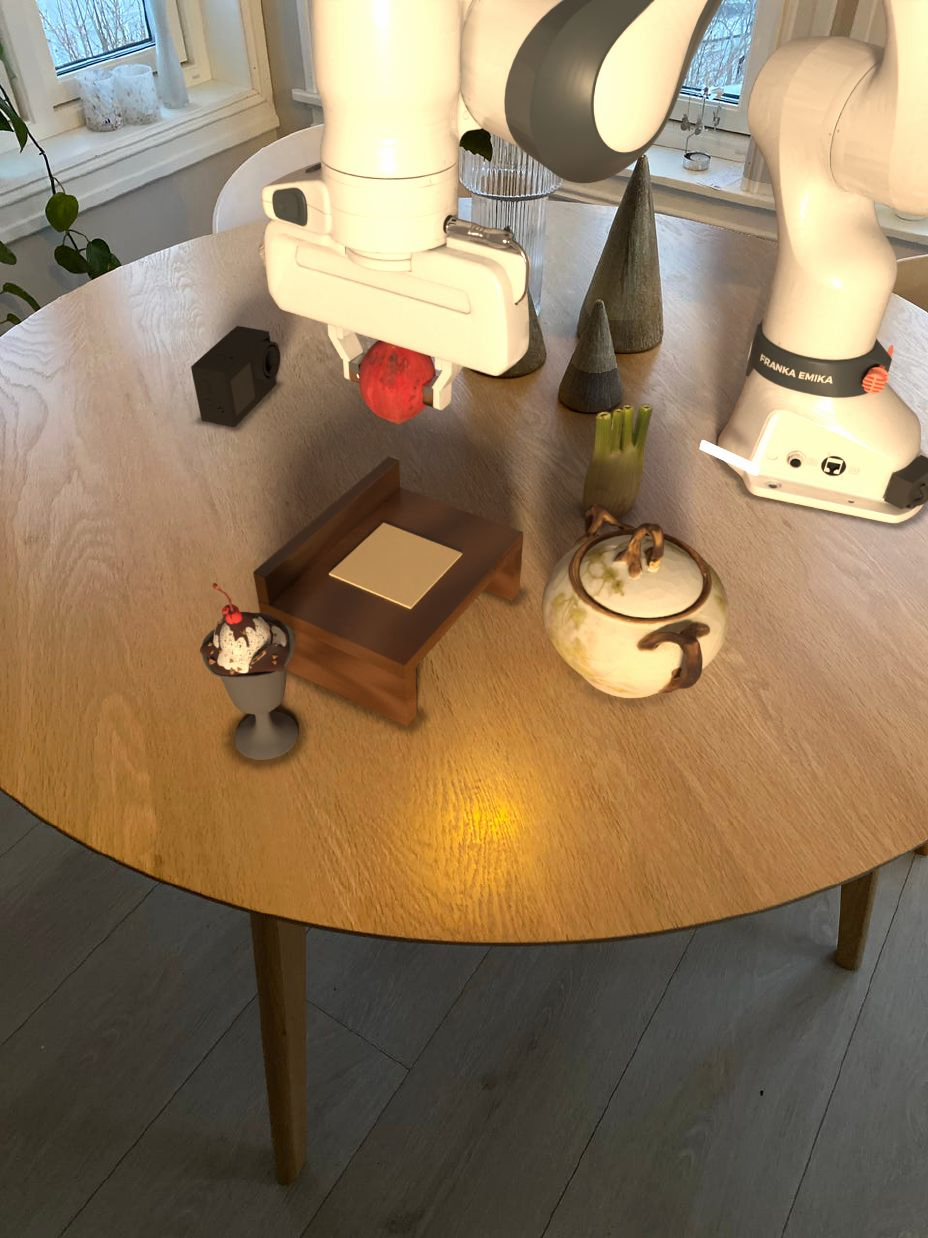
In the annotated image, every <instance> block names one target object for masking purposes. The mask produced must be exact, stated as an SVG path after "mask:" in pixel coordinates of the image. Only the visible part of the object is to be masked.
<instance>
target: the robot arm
mask: <svg viewBox="0 0 928 1238" xmlns="http://www.w3.org/2000/svg"><path fill="white" fill-rule="evenodd" d="M723 1H724V0H310V21H311V22H310V24H311V25H310V26H311V27H310V29H311V49H312V51H311V52H312V64H313V65H312V66H313V79H314V83H315V84H314V85H315V87H316V90H317V93H318V97H319V99H320V102H321V107H322V112H323V115H322V116H323V128H322V133H321V134H322V135H321V139H320V145H319V157H320V158H319V159H320V160H319V161H318V162H315V163H312V164H310V165H309V164H308V165H307V166H304V167H301V168H298V169H296V170H294V171H291V172H289V173H287V174H285V175H283V176H281V177H279V178H277V179H275V180H273V181H272V182H270V183H268V184H267V185H265V186H264V187H262V189H261V192H260V198H261V206H262V209H263V211H264V214H265V216H266V217H268V218H269V219H270V220H269V221H268V222H267V223H266V226H265V229H264V232H265V233H264V232H263V236H264V253H265V265H264V267H265V266H266V267H265V274H266V283H267V286H268V287H267V288H268V292H269V294H270V296H271V298H272V299H273V301H274V303H275V304H276V305H277V307H278V308H279V309H280V310H282V311H284V312H287V313H290V314H293V315H297V316H300V317H304V318H307V319H310V320H313V321H316V322H319V323H323V324H326V325H327V326H326V327H327V335H328V337H329V340H330V341H331V343H332V346H334V348H335V350H336V352H337V354H338V355H339V357H340V359H341V360H342V364H343V365H342V366H343V377H344V379H345V380H348V381H351V382H354V383H357V384H359V368H360V365H361V361H362V359H363V358H364V356H365V354H366V353H367V352H364V350H363V347H362V345H361V343H360V340H359V337H358V336H357V335H361V336H364V337H367V338H372V339H374V340H377V341H379V340H380V341H384V342H387V343H390V344H393V345H396V346H400V347H403V348H406V349H409V350H413V351H416V352H419V353H422V354H425V355H429V356H431V358H434V368H435V370H437V371H441V372H440V374H439V375H436V376H434V377H433V378H431V379H430V381H428V382H426V383H425V384H424V385H422V394H423V396H424V398H423V399H422V402H423V404H424V405H427V407H429V408H433V409H434V410H438V411H443V410H444V409H445V408H446V407H447V406H449V405H450V403H451V401H452V397H453V396H452V394H453V392H452V390H453V382H454V381H455V379H456V378H457V377H458V375H459V374H460V372H461V371H462V370H463V368H468V369H470V370H473V371H478V372H480V373H483V374H486V375H489V376H493V377H494V376H495V377H498V376H502V374H504V373H505V372H506V371H508V370H510V369H512V367H514V366H515V365H516V364H518V362H519V361H520V360H521V359H522V358H523V357H524V356H525V355H526V353H527V352H528V350H529V346H530V311H529V298H528V297H529V296H528V291H529V288H530V280H531V279H530V277H531V258H530V255H529V254H528V253H527V252H526V250H525V249H524V247H523V246H522V245H521V243H519V242H518V241H516V240H515V239H513V233H511V232H509V231H507V230H505V229H503V228H498V227H486V226H485V225H484V226H483V225H481V224H479V223H476V222H473V221H470V220H466V219H461V218H460V217H459V199H460V198H459V191H460V189H459V188H460V143H461V139H462V137H463V136H464V135H465V134H466V133H467V132H469V131H475V130H476V131H477V130H481V129H483V130H485V131H486V132H488V133H489V134H491V135H493V136H495V137H497V138H499V139H501V140H503V141H505V142H507V143H509V144H511V145H513V146H515V147H517V148H519V149H521V151H523V152H524V153H525V154H526V155H528V156H529V157H531V158H532V159H533V160H535V161H536V162H538V163H539V164H540V165H542V166H543V167H544V168H545V169H547V170H549V171H550V172H551V173H553V174H554V175H555V176H557V177H558V178H560V179H562V180H564V181H567V182H569V183H570V182H571V183H575V184H591V183H597V182H601V181H605V180H607V179H609V178H612V177H614V176H616V175H617V174H619V173H621V172H622V171H624V170H625V169H627V168H629V167H630V166H632V165H633V164H634V163H635V162H637V160H639V159H640V158H641V157H642V156H643V155H644V154H645V153H646V152H648V150H649V149H650V148H651V147H652V146H653V145H654V144H655V142H656V141H658V139H659V138H660V135H661V134H662V133H663V132H664V129H665V128H666V126H667V125H668V122H669V120H670V117H671V116H672V113H673V111H674V109H675V107H676V104H677V101H678V99H679V96H680V94H681V91H682V89H683V86H684V83H685V80H686V78H687V75H688V72H689V69H690V66H691V65H692V61H693V59H694V57H695V55H696V52H697V50H698V48H699V46H700V44H701V42H702V40H703V38H704V36H705V34H706V32H707V30H708V28H709V26H710V25H711V23H712V21H713V19H714V18H715V15H716V14H717V12H718V10H719V8H720V7H721V4H722V3H723ZM880 1H881V5H882V8H883V13H884V20H885V44H884V45H885V46H882V45H878V44H874V43H871V42H867V41H863V40H860V39H856V38H854V37H853V38H852V37H850V36H843V35H841V36H840V35H818V36H817V35H816V36H798V37H795V38H792V39H789V40H788V41H786V42H784V43H783V44H781V46H779V47H778V48H776V50H775V51H774V52H773V53H772V54H771V55H770V56H769V57H768V58H767V60H766V61H765V62H764V64H763V65H762V67H761V68H760V71H759V72H758V74H757V75H756V78H755V79H754V82H753V84H752V87H751V91H750V94H749V98H748V103H747V124H748V131H749V133H750V135H751V138H752V140H753V141H754V143H755V145H756V147H757V149H758V150H759V151H760V154H761V156H762V158H763V161H764V164H765V166H766V169H767V172H768V175H769V179H770V185H771V189H772V194H773V201H774V207H775V208H774V209H775V217H776V219H775V220H776V240H777V241H776V251H775V260H774V266H773V270H772V276H771V280H770V286H769V290H768V295H767V300H766V304H765V308H764V313H763V317H762V319H761V320H760V323H758V324H757V326H756V328H755V331H754V333H753V336H752V339H751V342H750V347H749V352H748V355H747V360H746V371H745V376H746V378H745V382H744V384H743V387H742V389H741V393H740V395H739V397H738V400H737V402H736V404H735V407H734V409H733V411H732V413H731V414H730V415H731V416H730V418H729V419H728V421H727V423H726V425H725V426H724V428H723V429H722V430H721V432H720V434H719V436H718V439H717V445H715V444H713V443H710V442H708V441H707V440H704V439H702V440H701V442H700V446H699V450H701V451H703V452H705V453H708V454H709V455H712V456H714V457H715V458H718V459H720V460H722V461H724V462H725V463H726V464H727V465H728V466H729V468H731V469H732V470H733V471H735V472H736V473H737V474H738V475H739V476H740V477H741V479H742V482H743V484H744V485H745V487H746V489H747V491H749V493H751V494H752V495H754V496H757V497H761V498H766V499H770V500H776V501H781V502H785V503H789V504H795V505H799V506H804V507H810V508H814V509H819V510H824V511H830V512H835V513H839V514H844V515H848V516H853V517H858V518H862V519H863V518H864V519H868V520H873V521H877V522H878V521H879V522H882V523H883V522H884V523H888V524H899V523H902V522H904V521H907V520H909V519H911V518H913V517H914V516H915V515H916V514H917V513H919V511H920V510H921V509H922V508H923V506H924V505H925V504H926V503H927V502H928V455H926V454H925V453H924V452H923V451H921V443H922V427H921V421H920V419H919V417H918V415H917V413H915V411H914V410H913V409H912V408H911V407H910V406H909V405H908V404H907V403H906V402H905V401H904V400H903V399H902V398H901V397H900V396H899V394H898V393H897V392H896V391H895V390H894V389H893V388H892V387H891V386H890V384H889V383H888V380H889V371H890V369H891V365H892V361H893V359H892V356H893V354H894V345H893V344H891V345H890V346H889V348H888V350H886V348H885V347H884V346H883V345H882V343H881V342H880V341H879V340H878V335H879V333H880V329H881V327H882V324H883V320H884V317H885V314H886V311H887V309H888V305H889V303H890V299H891V297H892V294H893V291H894V287H895V284H896V281H897V277H898V259H897V255H896V252H895V250H894V247H893V245H892V244H891V242H890V241H889V239H888V237H887V236H886V234H885V232H884V231H883V228H882V227H881V224H880V222H879V218H878V215H877V210H876V204H879V205H882V206H884V207H887V208H889V209H891V210H894V211H896V212H899V213H901V214H905V215H910V216H915V217H922V218H928V0H880ZM511 247H512V248H511Z"/></svg>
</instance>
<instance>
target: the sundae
mask: <svg viewBox="0 0 928 1238" xmlns="http://www.w3.org/2000/svg"><path fill="white" fill-rule="evenodd" d="M212 588H213V589H214V590H216V591H218V592H220V593H221V594H223V595H224V596H225V597H226V599H227V602H228V604H226V605H225V606H223V607H222V609H221V615H222V618H221V619H220V620H219V621H217V622H216V626H215V628H213V630H211V631H209V633H208V634H207V635H206V636H205V638H204V639H203V640H202V643H201V647H200V648H199V652H200V654H201V657H202V660H203V663H204V665H205V667H206V668H207V670H208V671H209V672H210V673H211V674H212V675H214V676H215V677H218V678H220V679H221V681H222V683H223V685H224V688H225V690H226V692H227V695H228V697H229V698H230V700H231V702H232V704H233V705H234V707H235V708H236V709H237V710H239V711H240V712H241V713H243V714H244V713H245V714H250V715H249V716H248V717H246V718H245V719H244V720H242V722H241V723H240V724H239V725H238V727H237V729H236V730H235V734H234V745H235V747H236V749H237V751H238V752H239V753H240V754H242V755H243V756H244V757H246V758H248V759H252V760H257V761H267V760H273V759H275V758H278V757H280V756H283V755H285V754H286V753H287V752H289V751H290V750H291V749H292V748H293V747H294V746H295V744H296V742H297V740H298V737H299V728H298V725H297V723H296V721H295V720H294V719H293V718H291V716H290V715H288V714H286V713H284V712H280V711H274V710H275V709H276V708H277V707H278V706H280V705H281V704H282V702H283V700H284V697H285V692H286V686H287V670H286V665H287V664H288V662H289V660H290V658H291V656H292V654H293V651H294V649H295V634H294V632H293V630H292V629H291V627H289V626H288V625H287V624H285V623H284V622H282V621H281V620H279V619H277V618H275V617H273V616H270V615H267V614H263V613H260V612H250V611H240V609H239V607H238V606H236V605H235V604H233V603H232V599H231V597H230V596H229V594H228V593H227V592H225V591H224V590H223V589H221V586H220V585H218V583H216V582H213V583H212Z"/></svg>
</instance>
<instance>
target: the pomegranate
mask: <svg viewBox="0 0 928 1238" xmlns="http://www.w3.org/2000/svg"><path fill="white" fill-rule="evenodd" d="M365 353H366V354H365V356H364V358H363V359H362V361H361V365H360V368H359V383H358V388H359V392H360V396H361V398H362V401H364V403H365V404H366V406H367V407H368V408H369V409H370V410H371V412H373V413H374V414H375V415H376V416H377V417H380V418H381V419H384V420H386V421H388V422H391V423H392V424H395V425H400V424H401V425H402V424H404V423H406V422H407V421H410V420H411V419H413V418H415V417H416V416H417V415H419V414H420V413H421V412H423V411H424V410H425V409H426V408H427V407H428V406H427V405H424V404H423V402H422V399H423V398H424V396H423V394H422V385H424V384H425V383H426V382H428V381H430V379H431V378H433V377H434V376H437V372H436V368H435V363H434V361H433V359H432V356H429V355H425V354H422V353H419V352H416V351H413V350H409V349H406V348H403V347H400V346H396V345H393V344H390V343H387V342H384V341H380V340H377V341H375V342H374V343H373V344H372V345H371V346H370V347H369V349H368V350H366V352H365Z"/></svg>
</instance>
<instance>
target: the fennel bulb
mask: <svg viewBox="0 0 928 1238" xmlns="http://www.w3.org/2000/svg"><path fill="white" fill-rule="evenodd" d="M653 408H654V407H653V405H652V404H640V405H639V406H638V412H637V414H636V415H637V416H636V418H635V405H633V404H632V405H631V404H624V405H623V406H620V407H619V408H615V409H614V410H613V411H612V414H611V413H609V412H608V411H601V412H598V413H597V414H596V416H595V433H594V446H593V450H592V456H591V459H590V462H589V465H588V468H587V470H586V474H585V477H584V483H583V489H582V499H581V500H582V504H583V507H584V509H585V510H586V511H587V510H588V508H589V507H590V506H591V505H593V504H601V505H604V506H605V507H606V509H607V510H608V511H609V512H610V513H611V514H612V515H613V516H614V517H616V518H617V519H618V520H620V519H623V518H625V517H627V516H628V515H629V514H631V512H632V511H633V509H634V507H635V505H636V502H637V499H638V496H639V492H640V489H641V484H642V479H643V474H644V469H645V453H646V444H647V436H648V431H649V427H650V422H651V418H652V414H653V410H654V409H653ZM634 420H635V423H634Z"/></svg>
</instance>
